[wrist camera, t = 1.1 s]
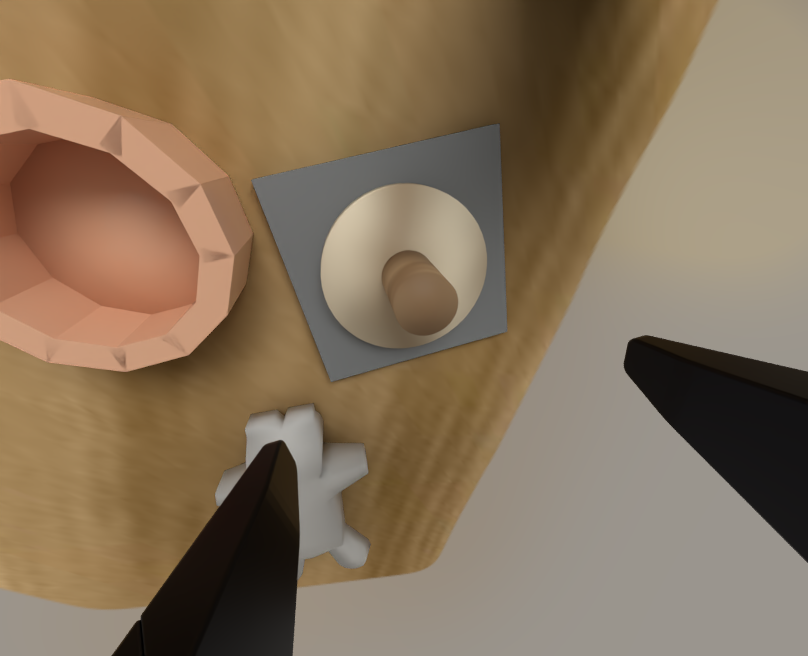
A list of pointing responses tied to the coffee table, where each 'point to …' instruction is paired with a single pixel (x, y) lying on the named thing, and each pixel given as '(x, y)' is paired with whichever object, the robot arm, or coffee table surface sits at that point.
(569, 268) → the coffee table surface
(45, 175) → the bowl
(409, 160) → the mat
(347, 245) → the lid
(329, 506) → the grey toy figurine
